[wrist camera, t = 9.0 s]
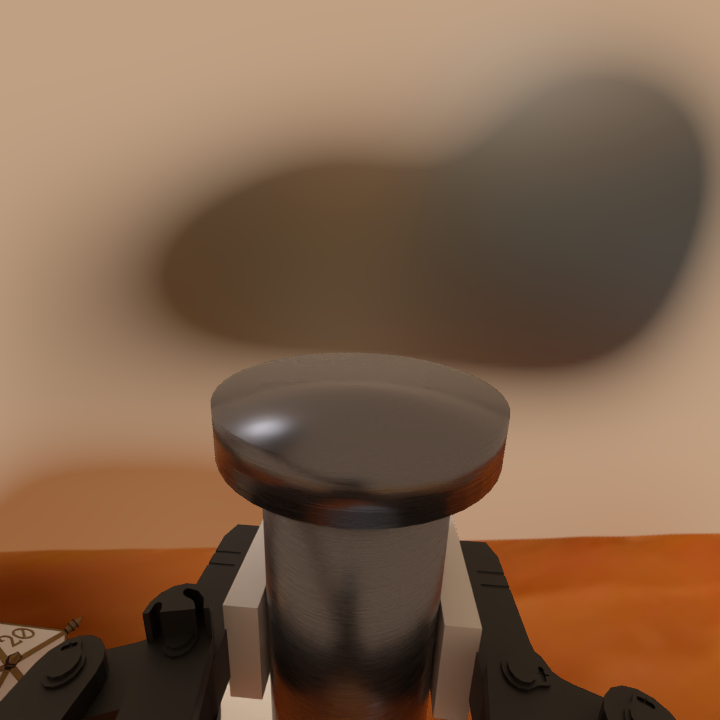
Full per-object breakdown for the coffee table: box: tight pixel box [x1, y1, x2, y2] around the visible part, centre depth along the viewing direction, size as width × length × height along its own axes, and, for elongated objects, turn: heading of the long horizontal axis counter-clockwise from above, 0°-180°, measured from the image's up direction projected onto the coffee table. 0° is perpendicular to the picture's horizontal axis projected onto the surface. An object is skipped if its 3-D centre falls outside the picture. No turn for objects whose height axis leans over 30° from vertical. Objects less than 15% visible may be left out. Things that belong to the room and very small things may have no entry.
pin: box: [211, 353, 510, 720], centre depth 9 cm, size 6×6×14 cm
